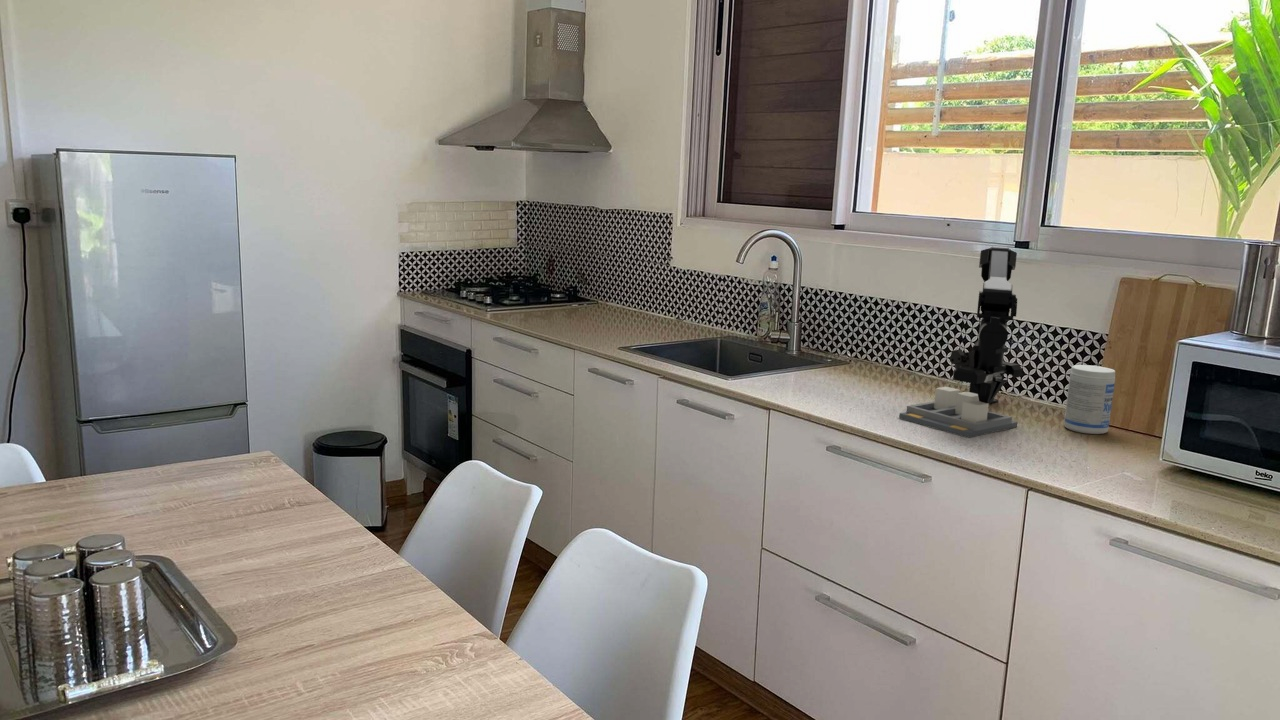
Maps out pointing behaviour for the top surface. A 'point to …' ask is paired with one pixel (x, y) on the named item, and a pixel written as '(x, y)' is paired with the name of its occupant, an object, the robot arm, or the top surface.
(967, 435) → the grey compartment tray
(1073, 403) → the supplement tub
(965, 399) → the light grey block
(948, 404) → the beige grey rectangular block
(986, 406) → the light grey block
